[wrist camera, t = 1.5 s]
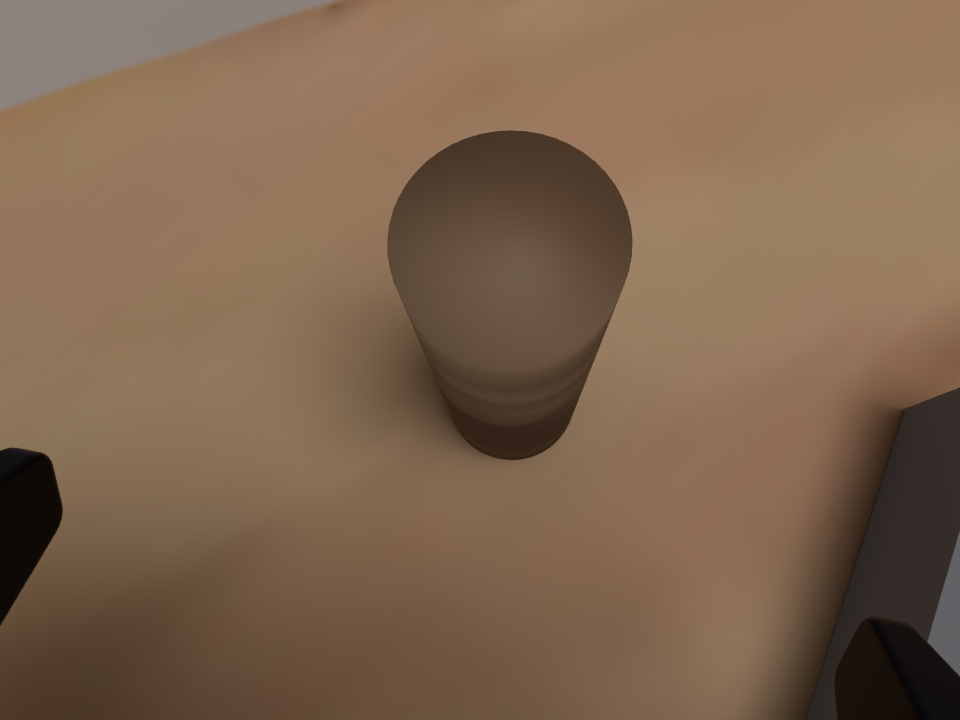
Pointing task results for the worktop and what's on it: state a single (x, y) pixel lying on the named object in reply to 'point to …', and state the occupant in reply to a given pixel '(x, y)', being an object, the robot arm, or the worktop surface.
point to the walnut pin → (510, 281)
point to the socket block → (909, 544)
